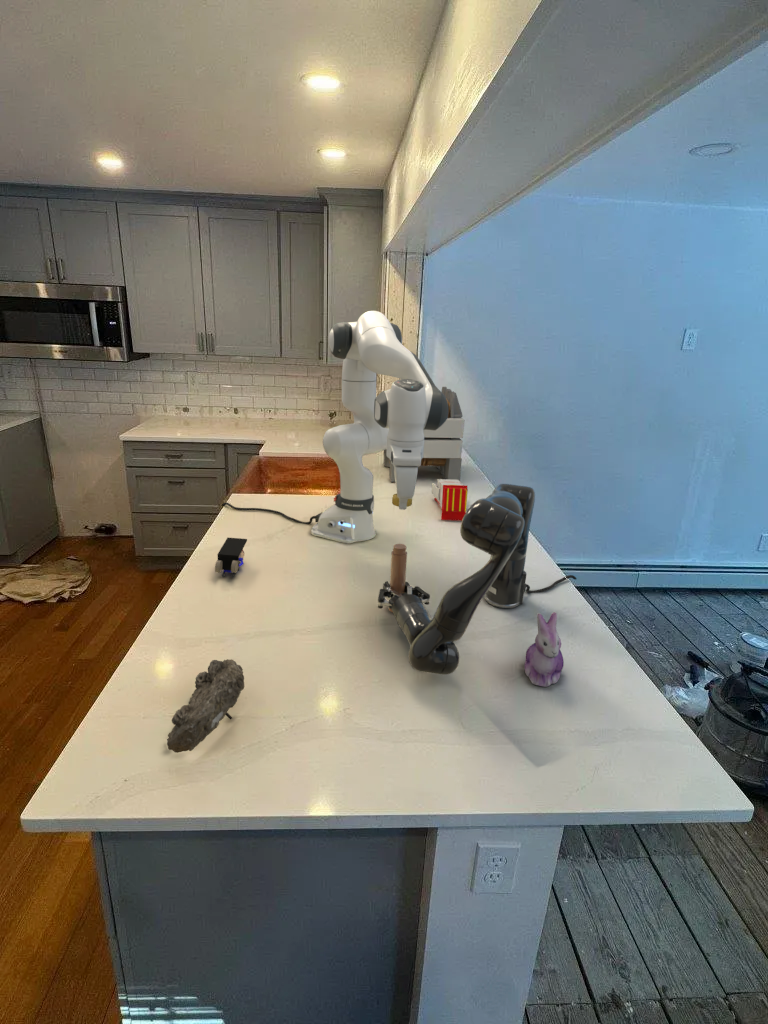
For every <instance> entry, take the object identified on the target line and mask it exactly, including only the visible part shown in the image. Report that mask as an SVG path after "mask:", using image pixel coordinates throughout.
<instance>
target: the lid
mask: <svg viewBox="0 0 768 1024" xmlns="http://www.w3.org/2000/svg"><path fill="white" fill-rule="evenodd" d="M391 504H392V505H393V506H395V507H397V508H399V498H398V496H397V493H394V494H393V495H392V497H391ZM412 505H413V498H412V499H408V500H407V508H408V507H409V508H410V507H411V506H412Z"/></svg>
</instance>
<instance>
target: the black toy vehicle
mask: <svg viewBox="0 0 768 1024" xmlns="http://www.w3.org/2000/svg"><path fill="white" fill-rule="evenodd" d="M247 542H248V538H240V537H226V539H225V541H224V543H223V544H222V546H221V547H220V549H219V551H218V552H217V560H216V562H215V564H214V572H215V573H221V577H222V578H224V577H225V576H226V574H227V573H230V574H231V573H232V574H231V578H234V577H235V575H236V573H237V572H239V571H240V567H242V566H243V565H244V564H245V562H244V558H245V551H244V547H245V546H246V544H247Z"/></svg>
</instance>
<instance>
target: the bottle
mask: <svg viewBox="0 0 768 1024" xmlns="http://www.w3.org/2000/svg"><path fill="white" fill-rule="evenodd" d="M407 563H408V552H407V545H405V544H404V543H395V544H394V545H393V546H392V551H391V555H390V573H389V585H390V586H391V589H392V590H396V591H397V592H398V593H405V582H407ZM388 611H389V612H390V613H393V611H392V609H390V608H389V607H388Z"/></svg>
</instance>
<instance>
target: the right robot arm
mask: <svg viewBox="0 0 768 1024" xmlns="http://www.w3.org/2000/svg"><path fill="white" fill-rule="evenodd" d="M535 503H536V492H535V489H534V488H533V487H531V486H528V485H519V484H511V483H500V484H498V485H496V486H495V487H494V489H493V491H492V493H491V494H490V495H488V496H487V497H486V498H485V497H484V498H479V499H478V500H477V499H476V501H475V502H473V503H472V504H471V505H470V507H468V508H467V509H466V514H465V515H464V517H463V520H462V521H461V523H460V527H459V529H460V530H459V532H460V533H459V534H460V537H461V539H462V540H463V541H464V542H465V543H467V544H468V545H469V546H472V547H474V548H476V549H478V550H480V551H483V552H484V553H486V554H488V555H489V556H490V557H489V559H488V561H487V562H486V563H485V564H484V565H483V566H482V567H481V568H480V569H479V570H477V571H476V572H475V573H473V574H471V575H469V576H468V577H466V578H464V579H462V580H460V581H459V582H457V583H455V584H454V585H452V586H451V587H449V589H448V590H447V591H446V592H445V593H444V594H443V596H442V598H441V600H440V602H439V604H438V607H437V609H436V610H435V612H434V615H433V617H432V618H431V615H430V613H429V611H428V609H427V607H426V606H428V605H430V599H431V594H429V593H428V592H427V591H425V590H424V589H423V588H421V587H420V586H418V585H416V586H414V587H413V586H412V585H411V584H410V583H409V581H406V582H405V593H398V592H397V591H396V590H392V589H391V586H390V582H389V581H387V580H385V581H384V583H383V584H382V588H380V589H379V591H378V598H377V608H378V609H381V610H382V609H383V608H384V607H387V608H388V609H389V608H390V609H392V611H393V612H392V613H393V616H394V618H395V620H396V622H397V625H398V626H399V628H400V630H401V631H402V633H403V634H404V635H405V637H406V640H407V642H408V643H409V645H410V647H409V650H408V662H409V664H410V666H411V668H412V669H414V670H415V671H417V672H421V673H428V674H437V675H443V676H445V675H446V676H447V675H451V674H453V673H454V672H455V671H456V670H457V669H458V667H459V664H460V653H459V649H458V647H457V645H456V643H455V642H458V641H459V640H461V639H462V638H463V636H464V635H465V633H466V630H467V629H468V627H469V625H470V622H471V620H472V618H473V617H474V614H475V612H476V611H477V609H478V607H479V605H480V603H481V602H482V600H483V598H485V601H486V602H487V603H488V604H489V605H491V606H492V607H493V606H494V607H496V608H500V609H514V608H516V607H518V606H520V605H523V602H524V594H525V593H526V594H527V593H528V594H536V593H537V594H538V593H543V592H546V591H549V590H552V589H553V588H554V587H556V586H557V585H558V584H561V583H562V582H564V581H566V580H568V579H573V580H577V577H576V575H574V574H569V575H568V574H567V575H566V576H564V577H562V578H560V579H558V580H556V581H554V582H553V583H552V584H551V585H549V586H546V587H544V588H540V589H535V590H531V586H530V585H529V584H528V583H526V580H527V571H525V565H526V558H527V553H528V542H529V537H530V535H529V534H530V527H531V523H532V517H533V513H534V512H533V511H534V508H535ZM565 577H566V578H567V579H566V578H565ZM386 598H387V599H386Z"/></svg>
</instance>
